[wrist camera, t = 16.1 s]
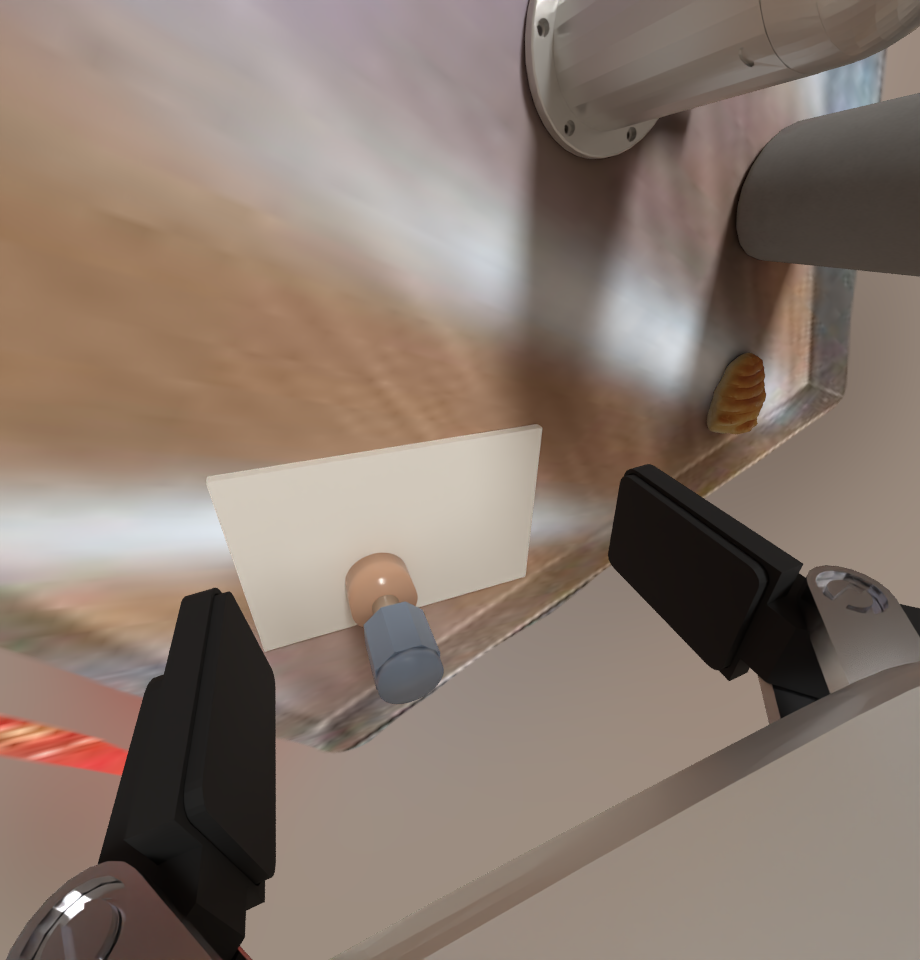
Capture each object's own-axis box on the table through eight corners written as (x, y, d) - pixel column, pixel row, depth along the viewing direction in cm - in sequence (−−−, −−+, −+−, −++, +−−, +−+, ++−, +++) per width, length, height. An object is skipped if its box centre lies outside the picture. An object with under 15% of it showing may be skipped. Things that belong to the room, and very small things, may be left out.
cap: (362, 611, 37) (377, 668, 32) (422, 597, 39) (444, 648, 34) (366, 653, 40) (379, 712, 35) (422, 638, 42) (442, 691, 37)
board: (537, 423, 43) (542, 427, 42) (521, 571, 53) (525, 576, 53) (207, 476, 34) (205, 482, 33) (264, 644, 44) (264, 651, 43)
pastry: (715, 358, 48) (746, 367, 45) (759, 345, 50) (791, 352, 47) (700, 431, 54) (727, 443, 51) (740, 417, 55) (768, 428, 52)
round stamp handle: (404, 546, 43) (440, 627, 34) (408, 591, 46) (441, 677, 38) (340, 561, 41) (361, 652, 32) (349, 608, 44) (370, 702, 36)
